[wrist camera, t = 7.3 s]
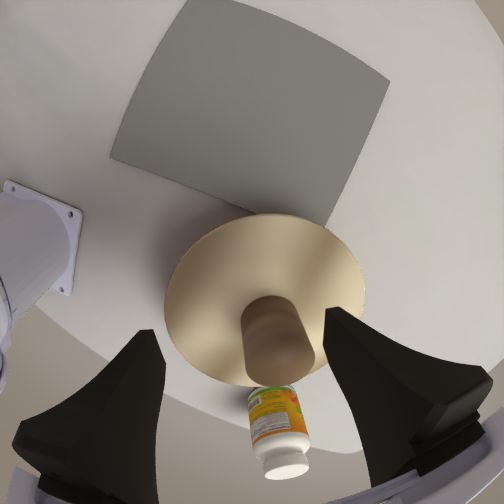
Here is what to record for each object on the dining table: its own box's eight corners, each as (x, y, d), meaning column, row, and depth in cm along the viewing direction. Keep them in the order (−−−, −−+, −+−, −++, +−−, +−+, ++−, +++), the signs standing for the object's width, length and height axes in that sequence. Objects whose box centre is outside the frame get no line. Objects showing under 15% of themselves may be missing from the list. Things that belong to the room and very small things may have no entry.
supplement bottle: (297, 404, 28) (316, 474, 19) (252, 413, 27) (261, 485, 18) (294, 377, 25) (317, 456, 16) (242, 387, 25) (251, 469, 16)
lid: (146, 350, 18) (132, 400, 13) (212, 175, 14) (207, 187, 9) (299, 391, 21) (312, 435, 16) (391, 263, 17) (432, 297, 12)
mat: (112, 157, 16) (109, 157, 16) (195, -6, 12) (195, -9, 12) (315, 238, 20) (317, 240, 20) (387, 82, 16) (390, 81, 15)
